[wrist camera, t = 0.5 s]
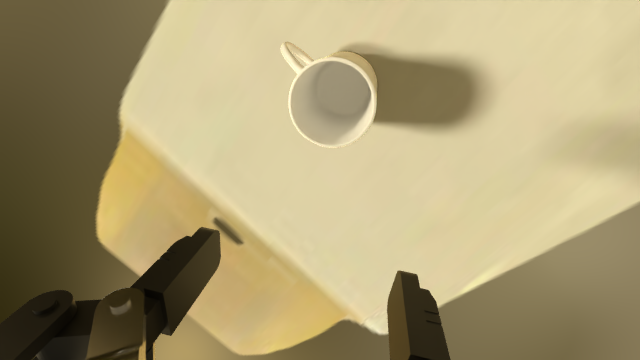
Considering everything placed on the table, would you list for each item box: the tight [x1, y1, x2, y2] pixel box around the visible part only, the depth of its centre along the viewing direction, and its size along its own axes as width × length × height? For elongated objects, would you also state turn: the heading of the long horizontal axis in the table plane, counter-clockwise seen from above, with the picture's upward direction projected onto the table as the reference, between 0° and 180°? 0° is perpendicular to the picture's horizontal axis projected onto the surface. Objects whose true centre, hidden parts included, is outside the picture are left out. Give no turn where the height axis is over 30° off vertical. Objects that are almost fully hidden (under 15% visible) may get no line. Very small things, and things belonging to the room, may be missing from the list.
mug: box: [281, 42, 377, 148], centre depth 30 cm, size 12×8×12 cm
